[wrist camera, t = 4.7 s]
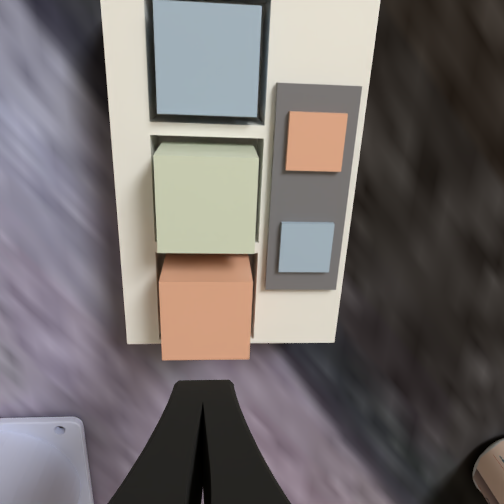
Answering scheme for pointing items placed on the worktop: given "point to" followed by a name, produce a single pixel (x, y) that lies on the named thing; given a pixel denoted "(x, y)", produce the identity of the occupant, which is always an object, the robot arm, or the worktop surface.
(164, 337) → the terracotta key
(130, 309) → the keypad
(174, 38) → the slate blue key
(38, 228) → the worktop surface
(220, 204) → the sage key
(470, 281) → the worktop surface
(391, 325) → the worktop surface
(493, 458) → the beige capped bottle
